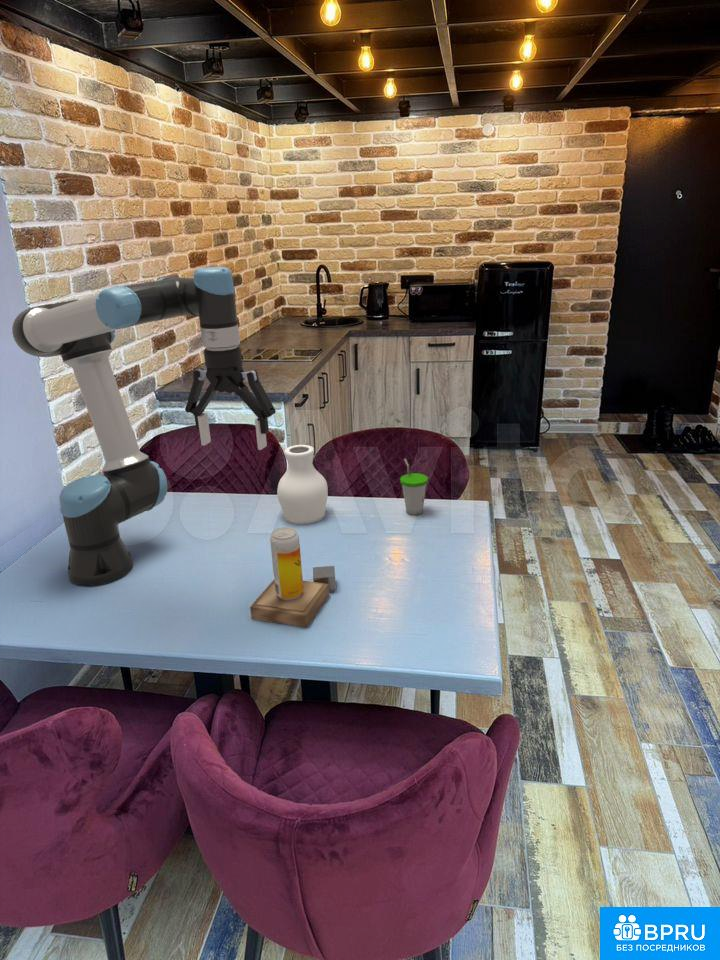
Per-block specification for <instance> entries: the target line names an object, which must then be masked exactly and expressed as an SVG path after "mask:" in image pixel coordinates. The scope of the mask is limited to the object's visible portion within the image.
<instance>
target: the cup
mask: <svg viewBox="0 0 720 960" xmlns="http://www.w3.org/2000/svg"><path fill="white" fill-rule="evenodd" d="M403 461H404V462H405V464H406V467H407V468H406V469H407V473H405V474H403V475H402V476H400V479H399V483H400V485H401V489H402V493H403V498H404V499H403V500H404V505H405V510H406V513H407V514H408V515H410V516H416V517H417V516H420V515H422V514H423V512H424V506H425V498H426V497H425V496H426V490H427V484H428V483H429V477H428V476H427V475H425V474H422V473H415V472H414V473H413V472H411V473H410V464H409V462H408V460H407V458H404V459H403Z"/></svg>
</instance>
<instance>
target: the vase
mask: <svg viewBox="0 0 720 960" xmlns="http://www.w3.org/2000/svg"><path fill="white" fill-rule="evenodd" d="M314 455H315V448H314V447H313V446H311V445H309V444H295V445H291V446H288V447H287V448H285V449H284V456H285V459H286V461H287V464H288V467H287V470H286V471H285V472H284V474H283V475H282V477H281V478H280V480H279V481H278V484H277V493H276V495H277V499H278V502H279V505H280V507H281V508H280V509H281V511H282V515H283V519H284V520H285V521H286V522H288V523H290V524H295V525H310V524H314V523H317V522H320V521H321V520H323V519H324V518H325V517H326V508H327V507H326V506H327V502H328V494H329V490H328V482H327V480H326V479H325V477H324V476H323V474H321V473H320V472H319V471H318V469H316V468H315V466H314V464H313V459H314Z"/></svg>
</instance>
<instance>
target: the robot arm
mask: <svg viewBox="0 0 720 960" xmlns="http://www.w3.org/2000/svg"><path fill="white" fill-rule="evenodd" d="M235 292H236V288H235V285H234V279H233V274H232V271H231V270H230V268H228V267H225V266H216V267H215V266H211V267H209V266H208V267H201V268H196V269H195V270H194V271H193V277H177V276H169V277H161V278H158V279H157V280H154V281H146V282H143V283H134V284H127V285H115V286H110V287H108V288H104V289H102V290H101V291H99V293H97V294H94V295H91V296H87V297H84V298H81V299H78V298H77V299H73V300H68V301H61V302H56V303H55V302H54V303H49V304H44V305H37V306H32V307H29V308H26V309H24V310H22V311H21V312H20V313H19V314H18V315H17V316H16V317H15V319H14V321H13V324H12V328H11V329H12V331H11V332H12V337H13V340H14V341H15V343H16V345H17V346H18V347H19V349H21V350H22V351H23V352H25V353H26V354H28V355H31V356H34V357H38V358H51V357H57V356H61V359H62V363H64V365H67V366H68V367H70V368H72V370H73V373H74V375H75V376H74V377H75V379H76V382H77V384H78V387H79V389H80V392H81V395H82V396H81V397H82V399H83V401H84V404H85V406H86V410H87V413H88V416H89V418H90V420H91V423H92V426H93V430H94V433H95V435H96V437H97V440H98V443H99V446H100V449H101V452H102V455H103V457H104V461H105V463H104V465H103V467H102V468H101V469H102V474H103V475H101V474H94V475H88V476H87V477H85V476H84V477H80V478H77V479H75V480H73V481H71V482H69V483H68V484H67V485H66V486H64V487H63V488H62V490H61V491H60V493H59V505H60V508H59V509H60V513H61V515H62V519H63V523H64V527H65V531H66V535H67V539H68V540H67V541H68V544H69V548H70V549H69V556H68V565H67V574H68V578H69V581H70V582H71V583H73V584H75V585H78V586H82V587H83V586H84V587H95V586H100V585H101V586H102V585H105V584H110V583H112V582H116V581H117V580H120V579H121V578H123V577H124V576H127V574H129V573H130V572H131V571H132V569H133V568H134V562H133V556H132V553H130V551H129V550H128V549H127V546H126V545H125V543H124V541H123V540H122V538H121V535H120V530H119V525H120V524H121V523H124V522H126V521H128V520H130V519H132V518H134V517H136V516H138V515H141V514H142V513H145V512H149V511H151V510H153V509H154V508H155V507H157V506H158V505H160V504H162V503H163V501H165V497H166V496H167V493H168V492H167V491H168V482H167V481H168V480H167V476H166V474H165V472H164V470H163V468H160V465H159V464H158V463H157V462H155V461H152V460H150V458H149V455H147V454H146V453H144V452H142V451H141V450H140V448H139V444H138V441H137V439H136V436H135V433H134V430H133V427H132V424H131V421H130V418H129V415H128V412H127V409H126V406H125V404H124V401H123V397H122V395H121V392H120V389H119V386H118V384H117V380H116V377H115V374H114V372H113V368H112V366H111V362H110V358H109V357H110V355H111V353H112V352H113V349H112V346H111V344H112V343H113V342H114V341H115V338H116V334H115V333H116V331H118V330H122V329H126V328H130V327H134V326H135V327H136V326H139V325H143V324H148V323H151V322H152V323H153V322H158V321H163V320H167V319H168V320H169V319H173V318H177V317H182V316H183V317H184V316H186V317H198V319H199V327H200V335H201V341H202V347H204V348H205V349H204V350H203V357H204V365H205V368H206V370H205V369H204V368H203V367H201V368H198V369H195V370H193V373H192V376H193V381H192V383H191V384H192V385H191V388H190V391H189V395H188V398H187V400H186V401H187V402H186V404H185V408H184V411H185V412H186V413H190V414H191V415H193V416H194V422H195V427H196V430H198V431H199V436H200V444H201V446H203V447H204V446H207V445H208V444H210V443H211V442H212V439H211V432H210V431H211V430H210V424H209V417H208V413H207V412H205V410H206V408H207V407H208V405H209V404H210V402H211V401H212V400H213V398H214V396H215V395H216V393H217V392H218V393H220V394H221V393H228V394H232V393H234V394H235V395H236V396H238V397H239V398H240V399H241V400H242V401H243V402H244V404H245V405H246V406H247V407H248V408H249V409H250V410H251V412H252V413H253V414H254V415H255V416H256V419H254V425H255V432H256V443H257V451H258V450H259V451H261V450H263V449H264V448H266V447H267V446H268V445H267V444H268V443H267V433H269V420H268V419H269V418H270V417H272V416H273V415H275V414H276V413H277V411H276V410H277V409H276V408H275V407H274V405H273V404H272V402H271V399H270V397H269V395H268V394H267V392H266V390H265V389H264V387H263V385H262V382H261V381H260V378H259V373H258V371H257V369H253V370H250V371H244V369H243V356H242V355H243V354H242V348H241V347H240V346H239V345H240V344H241V338H240V336H241V335H240V330H239V328H240V327H239V322H238V321H239V320H238V313H237V304H236V303H237V302H236V293H235ZM206 379H207V380H208V381H209V383H210V384H209V385H208V386H207V388H206V389H205V390H206V391H205V392H204V394H203V395H202V396H201V393H202V389H203V386H204V384H205V380H206ZM244 380H245V382H246V383H248V385H249V387H248V385H246V383H245V382H244ZM249 388H250V390H251V391H252V392H251V391H250V390H249ZM200 396H201V399H200ZM199 399H200V400H199Z"/></svg>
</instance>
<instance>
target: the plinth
mask: <svg viewBox="0 0 720 960" xmlns="http://www.w3.org/2000/svg"><path fill="white" fill-rule="evenodd" d="M303 589H304V590H303V593H302V594H301V596H300V597H298V598H297V599H294V600H283V599H281V598H279V596H277V595H276V591H275V581H274V579H273V580H271V582H270V583H269V584H268V585H267V587H266V588H265V589H264V590H263V591H262V592H261V593H260V594H259V596H258V597H257V598H256V599H255V601H253V603H252V604H251V605H250V606H249V609H250V617H251V619H252V620H257V621H261V622H269V623H276V624H282V625H287V626H288V625H289V626H294V627H300V628H306V629H307V628H308V627H309V626H310V625H311V623H312V622H313V620H314V619H315V617H317V614H318V613H319V611H321V608H322V607H323V606H324V604H325V603H326V602H327V600H328V599H329V597H330V592H329V584H325V583H317V582H313V581H309V580H303Z"/></svg>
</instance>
